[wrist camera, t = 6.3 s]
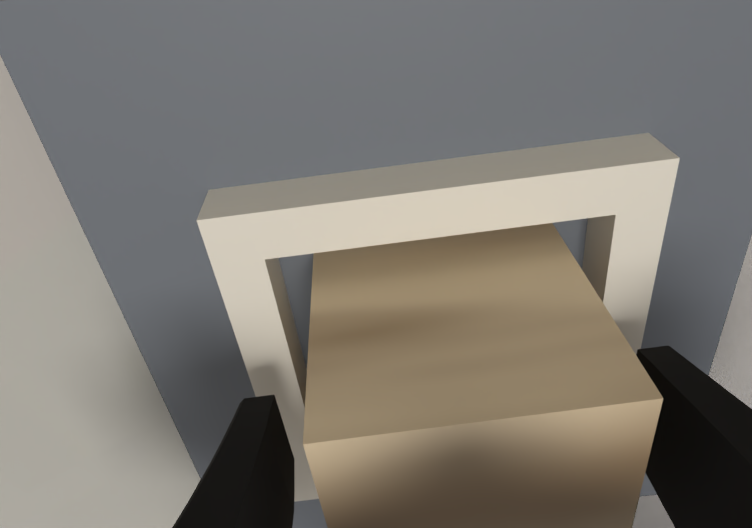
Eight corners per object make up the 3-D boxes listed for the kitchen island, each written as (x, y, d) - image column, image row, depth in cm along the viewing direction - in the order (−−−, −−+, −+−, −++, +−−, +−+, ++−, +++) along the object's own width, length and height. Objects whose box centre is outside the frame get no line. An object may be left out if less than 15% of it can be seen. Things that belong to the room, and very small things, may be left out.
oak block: (538, 384, 15) (618, 581, 11) (348, 409, 15) (353, 613, 11) (549, 218, 12) (663, 398, 8) (314, 249, 12) (302, 444, 8)
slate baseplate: (657, 465, 19) (691, 528, 17) (236, 516, 19) (226, 584, 17) (814, -116, 10) (925, -115, 8) (6, -7, 10) (-68, 19, 8)
